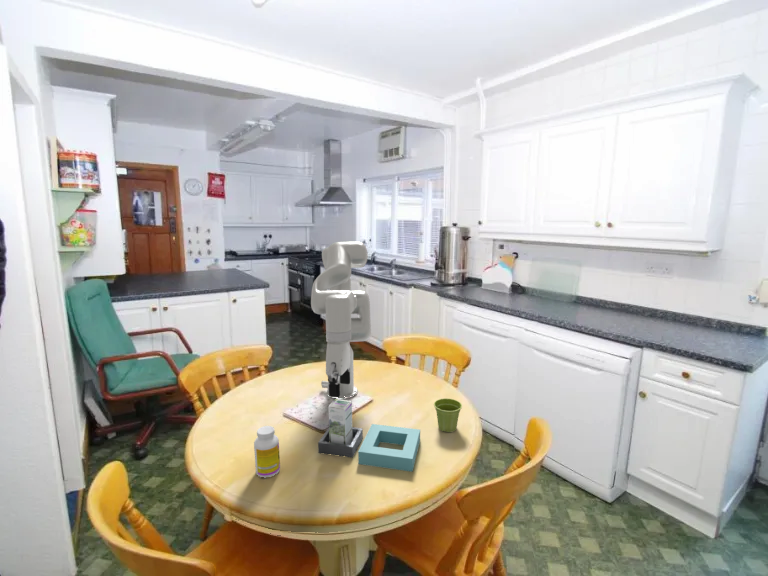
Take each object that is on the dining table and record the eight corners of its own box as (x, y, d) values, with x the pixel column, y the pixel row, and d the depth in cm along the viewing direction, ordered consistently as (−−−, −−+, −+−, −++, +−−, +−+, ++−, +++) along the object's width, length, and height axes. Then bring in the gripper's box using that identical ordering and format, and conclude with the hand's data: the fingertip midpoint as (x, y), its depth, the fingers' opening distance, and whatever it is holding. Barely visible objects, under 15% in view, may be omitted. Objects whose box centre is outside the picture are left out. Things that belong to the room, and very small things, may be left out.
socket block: (358, 464, 115) (358, 451, 114) (372, 435, 130) (372, 423, 130) (412, 471, 111) (412, 458, 111) (420, 441, 127) (420, 429, 126)
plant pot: (444, 438, 128) (444, 413, 127) (428, 425, 137) (428, 401, 135) (466, 431, 133) (467, 407, 131) (449, 418, 141) (450, 396, 139)
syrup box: (353, 442, 126) (352, 400, 124) (345, 452, 121) (344, 408, 118) (337, 438, 128) (336, 397, 125) (328, 448, 123) (327, 405, 120)
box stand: (318, 453, 120) (318, 442, 120) (331, 434, 131) (330, 424, 130) (352, 457, 118) (352, 447, 117) (362, 438, 128) (362, 428, 128)
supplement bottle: (283, 473, 111) (281, 431, 108) (259, 482, 107) (256, 439, 105) (276, 461, 116) (273, 421, 114) (253, 469, 113) (250, 428, 110)
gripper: (336, 327, 127) (337, 378, 130) (315, 343, 110) (317, 400, 113) (359, 329, 125) (359, 380, 128) (341, 344, 109) (342, 403, 111)
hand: (340, 389), depth 120 cm, fingers open, 9 cm apart
